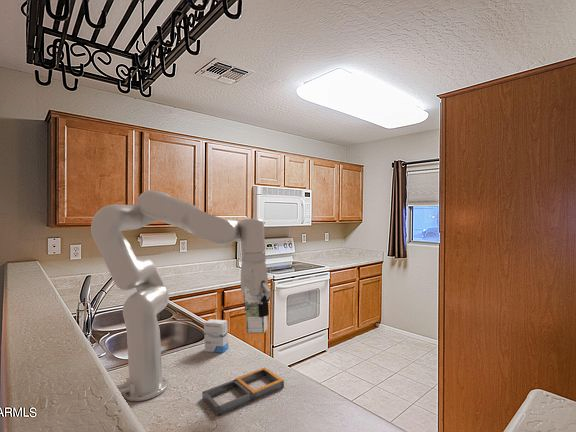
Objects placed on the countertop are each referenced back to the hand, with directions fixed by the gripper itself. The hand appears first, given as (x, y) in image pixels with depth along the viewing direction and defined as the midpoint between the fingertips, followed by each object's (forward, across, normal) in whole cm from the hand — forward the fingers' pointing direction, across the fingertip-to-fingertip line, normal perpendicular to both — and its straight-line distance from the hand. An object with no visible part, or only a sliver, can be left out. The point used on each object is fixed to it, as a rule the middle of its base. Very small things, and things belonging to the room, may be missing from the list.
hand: (256, 313), depth 100 cm
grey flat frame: (+23, 0, -6) cm, 24 cm away
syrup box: (+6, 0, 0) cm, 6 cm away
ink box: (+23, -36, +1) cm, 43 cm away
